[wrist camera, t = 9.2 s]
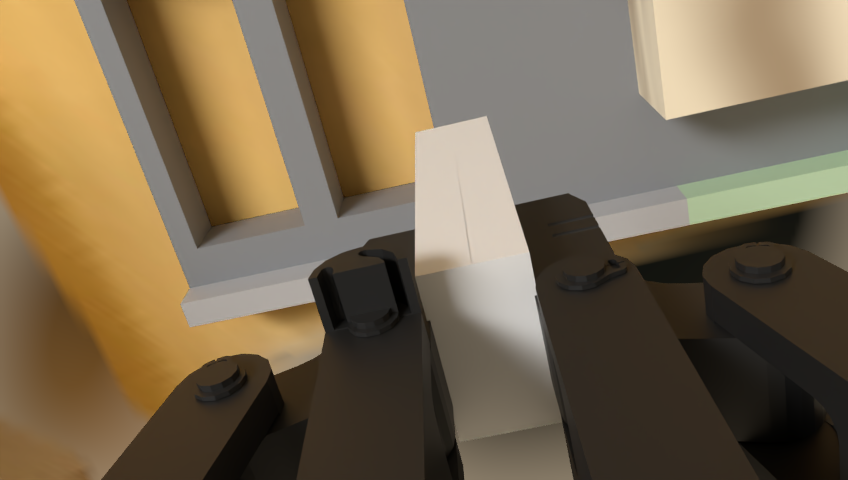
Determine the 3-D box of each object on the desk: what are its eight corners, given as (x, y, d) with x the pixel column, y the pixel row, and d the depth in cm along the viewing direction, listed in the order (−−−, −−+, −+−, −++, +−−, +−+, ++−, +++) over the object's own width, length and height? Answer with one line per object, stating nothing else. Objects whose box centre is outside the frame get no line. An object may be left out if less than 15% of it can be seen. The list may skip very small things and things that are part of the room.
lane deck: (213, 285, 38) (179, 345, 33) (61, -106, 31) (-10, -105, 26) (887, 144, 35) (964, 186, 30) (891, -329, 28) (992, -378, 23)
